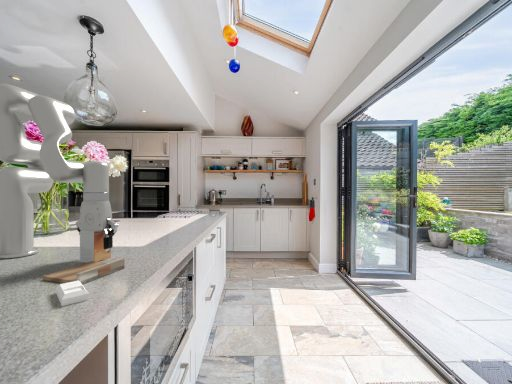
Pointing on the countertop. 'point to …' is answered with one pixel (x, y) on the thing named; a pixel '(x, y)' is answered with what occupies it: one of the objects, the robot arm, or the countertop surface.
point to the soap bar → (71, 293)
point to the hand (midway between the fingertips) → (96, 247)
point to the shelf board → (85, 272)
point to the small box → (93, 246)
